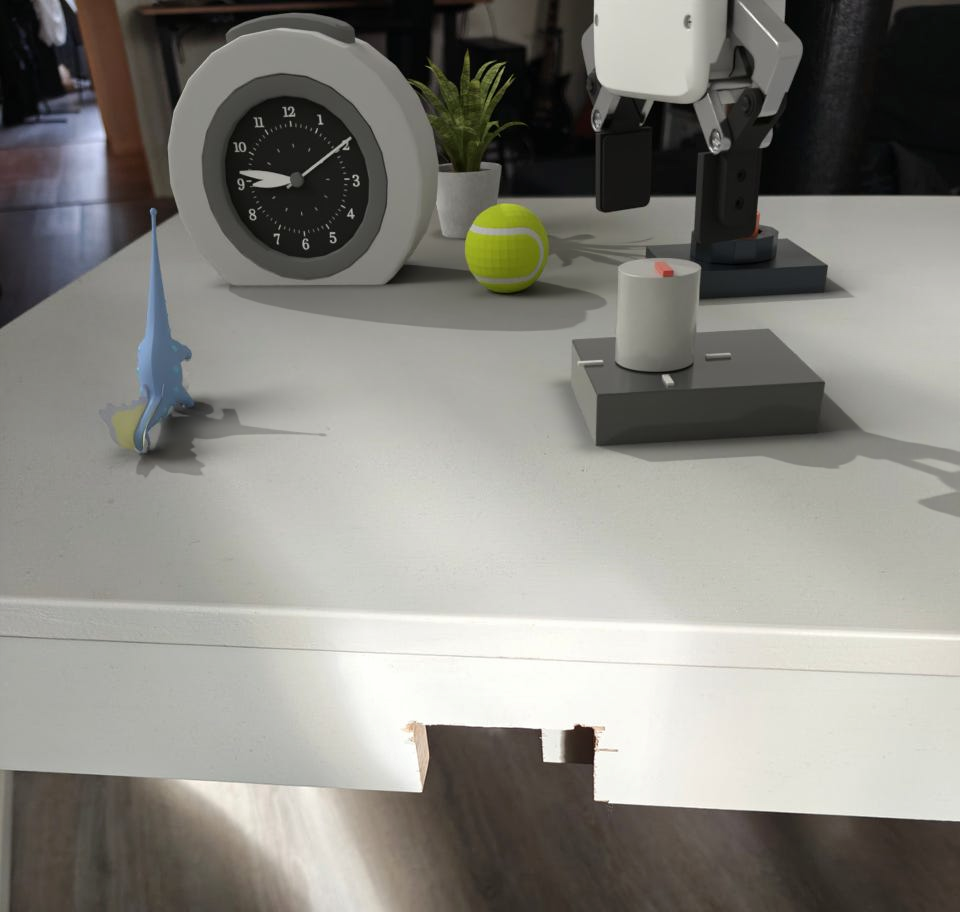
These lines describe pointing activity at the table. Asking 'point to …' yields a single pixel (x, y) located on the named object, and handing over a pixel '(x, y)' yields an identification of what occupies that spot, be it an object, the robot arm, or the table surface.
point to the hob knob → (657, 314)
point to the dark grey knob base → (698, 391)
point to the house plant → (465, 146)
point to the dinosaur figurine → (152, 371)
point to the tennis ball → (506, 248)
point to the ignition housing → (750, 266)
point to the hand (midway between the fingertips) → (670, 223)
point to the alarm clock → (302, 157)
